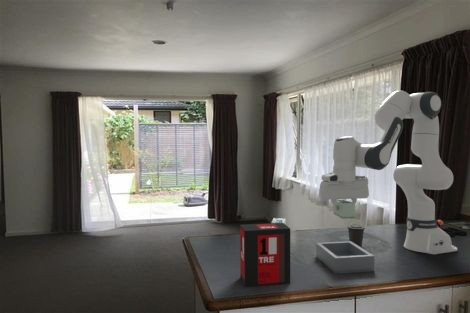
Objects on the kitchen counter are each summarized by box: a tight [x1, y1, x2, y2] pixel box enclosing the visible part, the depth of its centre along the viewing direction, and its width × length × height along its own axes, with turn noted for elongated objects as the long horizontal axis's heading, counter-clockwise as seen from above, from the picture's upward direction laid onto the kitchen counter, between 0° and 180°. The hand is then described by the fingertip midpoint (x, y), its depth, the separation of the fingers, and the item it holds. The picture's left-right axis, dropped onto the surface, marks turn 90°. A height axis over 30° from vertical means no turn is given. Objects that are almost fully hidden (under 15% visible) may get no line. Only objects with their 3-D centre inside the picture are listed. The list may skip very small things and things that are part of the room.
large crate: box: [315, 240, 375, 274], centre depth 148 cm, size 16×20×6 cm
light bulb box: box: [270, 217, 287, 226], centre depth 180 cm, size 11×7×11 cm, turn 168°
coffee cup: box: [347, 223, 366, 248], centre depth 171 cm, size 8×8×10 cm
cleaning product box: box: [239, 222, 291, 288], centre depth 131 cm, size 16×9×20 cm, turn 99°
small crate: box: [333, 199, 356, 220], centre depth 147 cm, size 5×9×6 cm, turn 8°
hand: (343, 209), depth 147 cm, fingers closed on small crate, 5 cm apart
